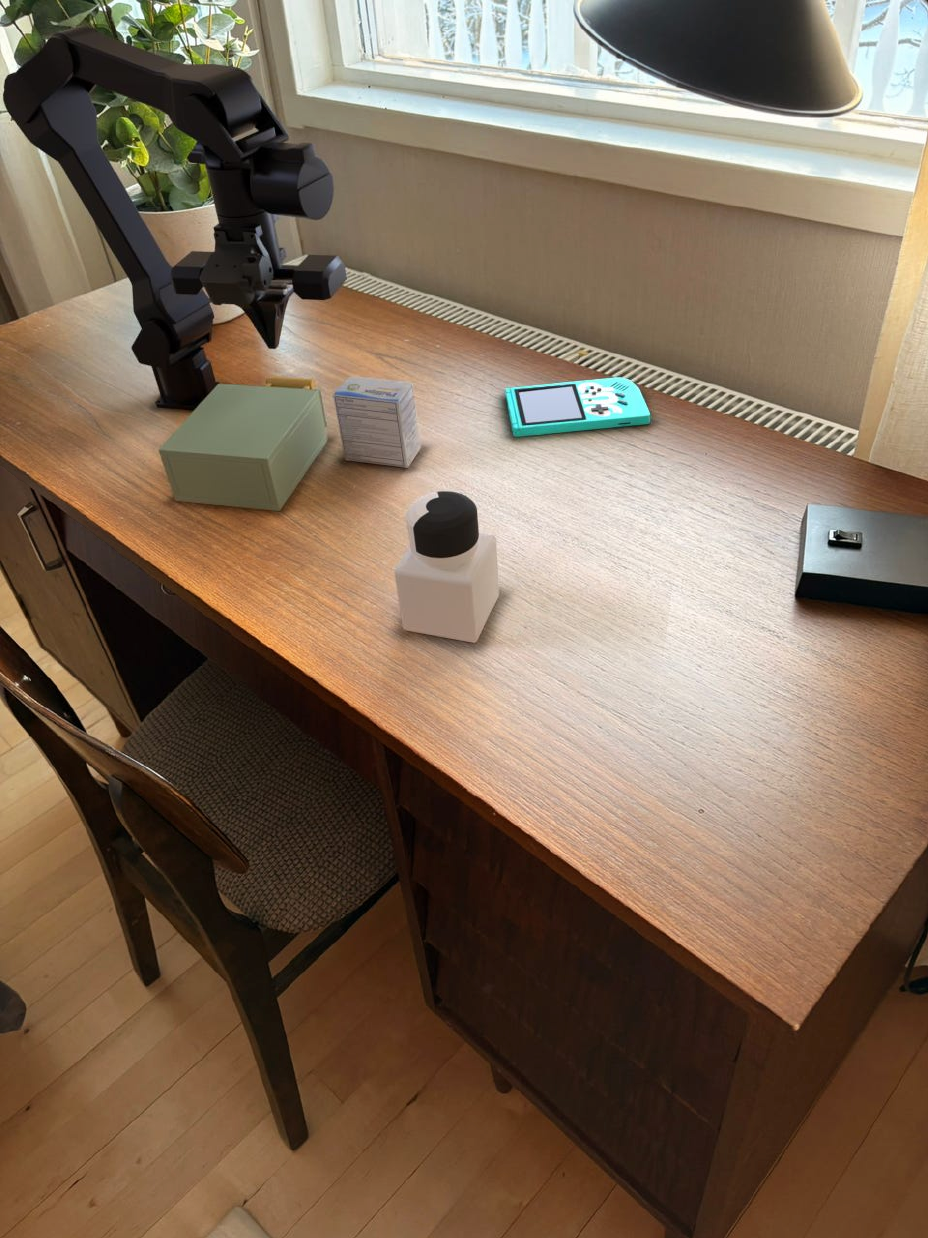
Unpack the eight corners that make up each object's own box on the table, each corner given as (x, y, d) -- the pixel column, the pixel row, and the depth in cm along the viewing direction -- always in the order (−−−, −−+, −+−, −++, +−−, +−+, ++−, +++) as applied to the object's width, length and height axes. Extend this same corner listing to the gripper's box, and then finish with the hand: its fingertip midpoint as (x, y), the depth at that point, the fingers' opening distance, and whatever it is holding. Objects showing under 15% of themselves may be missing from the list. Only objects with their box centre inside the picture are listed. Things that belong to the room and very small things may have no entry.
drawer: (256, 400, 118) (247, 365, 115) (340, 406, 116) (334, 370, 113) (189, 480, 105) (177, 443, 102) (283, 489, 103) (274, 451, 100)
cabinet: (231, 432, 115) (218, 383, 110) (328, 440, 112) (318, 389, 107) (175, 500, 104) (158, 449, 100) (279, 511, 101) (266, 458, 97)
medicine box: (422, 449, 109) (414, 380, 103) (407, 470, 105) (398, 400, 100) (360, 441, 111) (348, 373, 105) (344, 461, 108) (331, 393, 102)
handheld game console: (650, 425, 109) (651, 414, 108) (513, 438, 109) (512, 428, 108) (633, 383, 116) (633, 373, 116) (504, 396, 116) (504, 386, 116)
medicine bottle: (500, 594, 88) (494, 487, 80) (476, 645, 83) (467, 536, 75) (429, 582, 90) (416, 477, 82) (402, 631, 85) (385, 524, 78)
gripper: (126, 234, 95) (169, 375, 106) (296, 239, 91) (323, 386, 101) (177, 197, 103) (212, 331, 114) (336, 199, 99) (358, 339, 109)
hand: (273, 347), depth 109 cm, fingers closed
